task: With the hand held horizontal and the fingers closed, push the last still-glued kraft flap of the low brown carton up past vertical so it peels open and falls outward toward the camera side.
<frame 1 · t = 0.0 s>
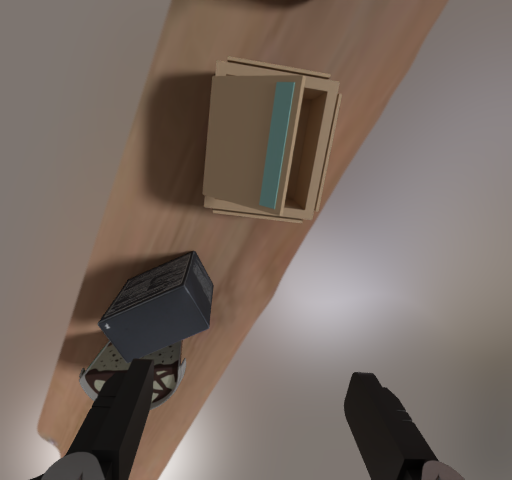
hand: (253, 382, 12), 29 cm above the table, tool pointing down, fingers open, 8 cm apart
food container: (155, 341, 45), on the table
small box: (172, 282, 42), on the table
carton: (262, 146, 37), on the table
flap: (246, 144, 27), point 11 cm above the table, hinge at -50.0°
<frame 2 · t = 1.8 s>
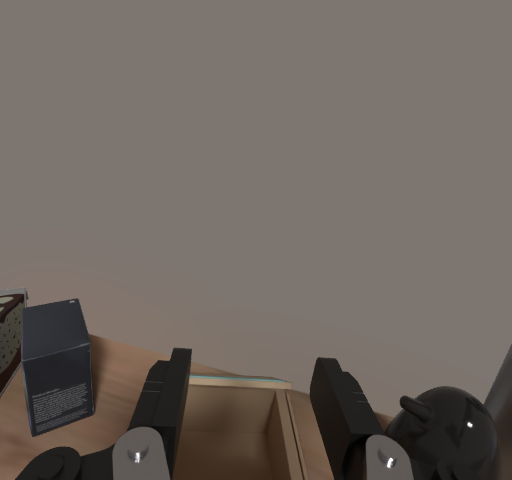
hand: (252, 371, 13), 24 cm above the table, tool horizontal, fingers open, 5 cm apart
small box: (59, 395, 38), on the table
flap: (225, 378, 30), point 11 cm above the table, hinge at -50.0°
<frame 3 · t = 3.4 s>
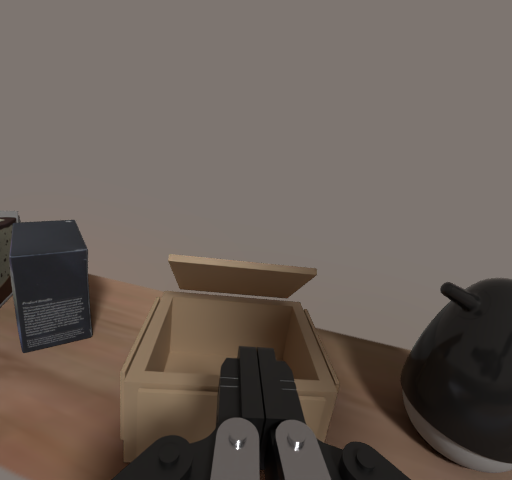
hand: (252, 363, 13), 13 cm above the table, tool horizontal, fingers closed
black egg-shaped piece: (448, 436, 27), on the table
small box: (54, 320, 35), on the table
carton: (225, 397, 27), on the table
flap: (239, 279, 26), point 11 cm above the table, hinge at -50.0°
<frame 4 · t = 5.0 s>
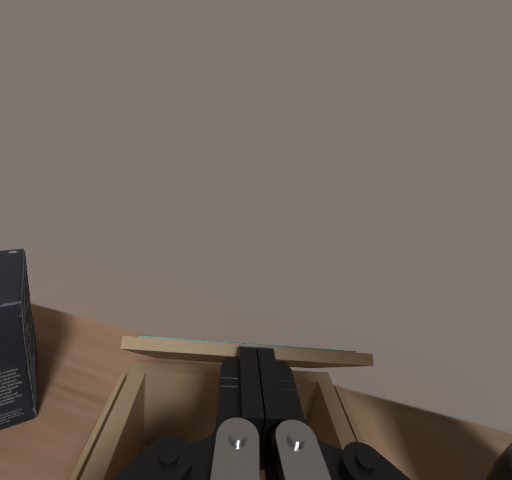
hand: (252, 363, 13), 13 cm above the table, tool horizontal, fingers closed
flap: (242, 355, 17), point 11 cm above the table, hinge at -48.5°, touching gripper
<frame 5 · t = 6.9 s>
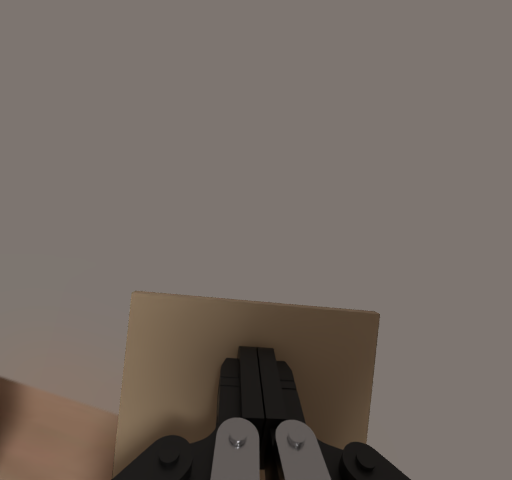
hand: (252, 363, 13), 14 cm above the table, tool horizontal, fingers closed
flap: (248, 406, 13), point 12 cm above the table, hinge at 16.0°, touching gripper
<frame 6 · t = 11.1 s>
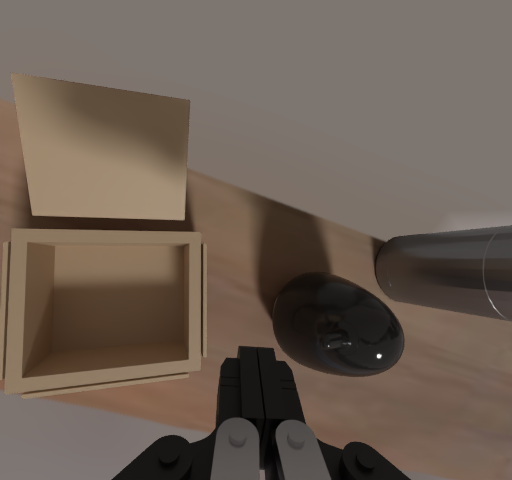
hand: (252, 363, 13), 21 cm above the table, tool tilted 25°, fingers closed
black egg-shaped piece: (298, 311, 37), on the table
carton: (122, 295, 31), on the table
flap: (111, 157, 22), point 10 cm above the table, hinge at 63.4°
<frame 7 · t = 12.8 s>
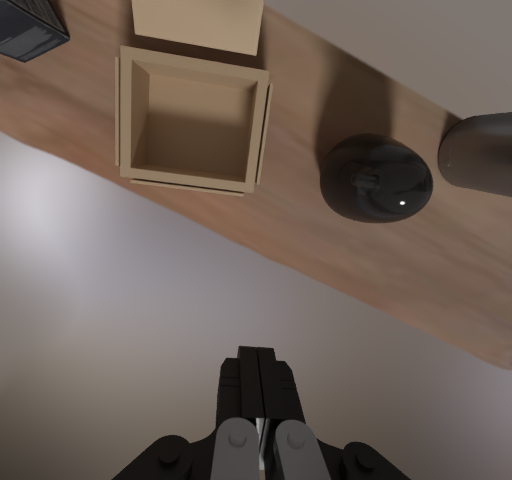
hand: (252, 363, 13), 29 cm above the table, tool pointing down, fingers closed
black egg-shaped piece: (348, 174, 40), on the table
small box: (17, 1, 32), on the table
carton: (199, 128, 37), on the table
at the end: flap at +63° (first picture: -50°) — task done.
